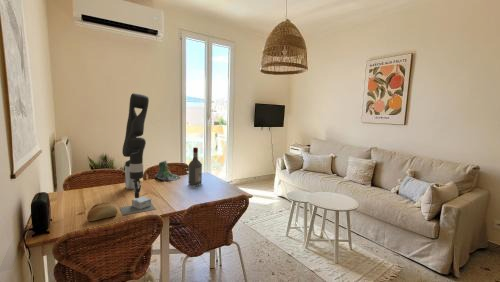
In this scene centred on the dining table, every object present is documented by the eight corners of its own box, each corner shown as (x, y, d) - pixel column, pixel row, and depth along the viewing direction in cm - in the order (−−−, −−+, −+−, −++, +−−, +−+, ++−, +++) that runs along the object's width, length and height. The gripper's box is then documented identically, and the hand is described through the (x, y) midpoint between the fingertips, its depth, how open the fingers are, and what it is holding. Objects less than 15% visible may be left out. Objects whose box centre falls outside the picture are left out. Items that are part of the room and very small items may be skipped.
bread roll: (84, 219, 134) (83, 205, 133) (113, 211, 145) (113, 198, 144) (90, 225, 128) (89, 210, 127) (120, 216, 139) (120, 203, 138)
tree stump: (178, 182, 208) (173, 161, 204) (154, 187, 206) (148, 167, 202) (181, 175, 226) (176, 156, 222) (159, 179, 224) (154, 161, 220)
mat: (119, 207, 150) (119, 207, 150) (151, 202, 161) (151, 202, 161) (122, 215, 141) (122, 214, 141) (155, 209, 151) (155, 208, 151)
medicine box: (131, 206, 153) (140, 209, 148) (131, 199, 152) (140, 202, 148) (142, 202, 160) (151, 205, 155) (142, 195, 159) (151, 198, 155)
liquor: (202, 183, 206) (203, 147, 202) (197, 186, 198) (197, 149, 194) (192, 181, 209) (193, 146, 205) (187, 184, 200) (187, 148, 196)
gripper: (145, 172, 146) (145, 200, 149) (140, 167, 157) (141, 193, 159) (131, 173, 142) (132, 202, 144) (127, 168, 153) (128, 195, 155)
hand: (136, 197), depth 152 cm, fingers closed
